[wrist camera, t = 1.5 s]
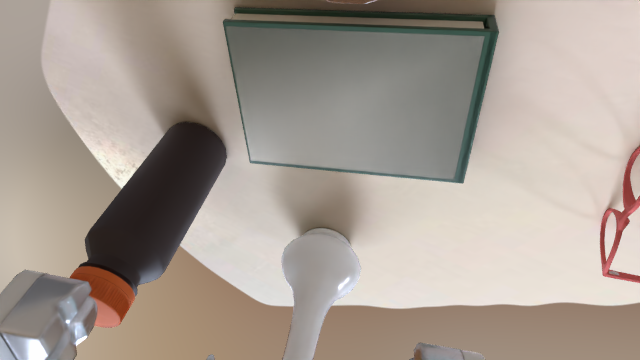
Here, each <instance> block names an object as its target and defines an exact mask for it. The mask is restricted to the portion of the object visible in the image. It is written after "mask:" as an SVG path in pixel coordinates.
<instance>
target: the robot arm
mask: <svg viewBox="0 0 640 360" xmlns="http://www.w3.org/2000/svg"><path fill="white" fill-rule="evenodd" d="M91 290H92V289H91V287H90V284H89V282H88V281H82V280H77V279H71V278H66V277H61V276H55V275H50V274H47V273H41V272H35V271H29V270H24V271H22V272H21V273H19V274H17V275H16V276H15V277H14V278H13V280H12V281H11V282H10V283H9V284H8V286H7V287H6V288H5V289H4V290H3V291H2V292H1V294H0V360H74V359H75V357H76V355H77V350H76V345H77V344H78V343H80V342H82V341H83V340H85V339H86V338H87V337H88V336H89V334H90V332H91V331H92V329H93V327H94V324H95V321H96V318H97V311H98V307H97V304H96V301H95V300H94V299H93V298H92V297H90V296H89V294H90V292H91ZM410 360H485V358H484V357H483V355H482V354H480V353H475V352H470V351H464V350H459V349H455V348H449V347H443V346H437V345H431V344H425V343H418V344H417V345H416V347H415V349H414V358H411V359H410Z"/></svg>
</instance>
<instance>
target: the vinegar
mask: <svg viewBox="0 0 640 360" xmlns="http://www.w3.org/2000/svg"><path fill="white" fill-rule="evenodd" d="M226 158H227V155H226V149H225V147H224V145H223V143H222V141H221V140H220V139H219V138H218V137H217V135H216V134H215V133H213V132H212V131H211V130H209V129H208V128H206V127H204V126H201V125H199V124H196V123H189V122H184V123H178V124H176V125H174V126H173V127H171V128H170V129H169V130H168V131H167V133H166V134H165V135H164V136H163V138H162V139H161V140H160V141H159V143H158V144H157V145H156V146H155V148H154V149H153V150H152V152H151V153H150V154H149V155H148V157H147V158H146V159H145V160H144V162H143V163H142V164H141V166H140V167H139V168H138V169H137V171H136V172H135V173H134V174H133V176H132V177H131V178H130V180H129V181H128V182H127V183H126V185H125V186H124V187H123V188H122V190H121V191H120V192H119V194H118V195H117V196H116V197H115V199H114V200H113V201H112V202H111V204H110V205H109V206H108V208H107V209H106V210H105V211H104V213H103V214H102V215H101V216H100V218H99V219H98V220H97V222H96V223H95V224H94V226H93V227H92V228H91V229H90V231H89V232H88V234H87V236H86V238H85V246H86V252H87V255H88V259H89V260H88V261H87V262H84V263H82V264H80V266H79V267H78V268H77V269H76V270H75V271H74V272H73V274H72V275H71V276H70V278H71V279H77V280H82V281H88V282H89V284H90V287H91V289H92V290H91V292H90V294H89V296H90V297H92V298H93V299H94V300H95V301H96V304H97V307H98V311H97V318H96V321H95V324H94V326H99V327H105V328H107V327H108V328H109V327H110V328H111V327H115V326H118V325H119V324H120V323H121V322H122V320H123V318H124V317H125V315H126V313H127V311H128V310H129V308H130V306H131V305H132V303H133V301H134V299H135V296H136V295H137V286H138V285H140V284H144V283H148V282H151V281H153V280H156V279H158V278H159V277H160V276H161V275H162V274H163V273H164V271H165V270H166V268H167V266H168V265H169V263H170V261H171V259H172V257H173V256H174V254H175V252H176V250H177V248H178V247H179V245H180V243H181V241H182V240H183V238H184V236H185V234H186V233H187V231H188V229H189V227H190V226H191V224H192V222H193V220H194V218H195V217H196V215H197V213H198V211H199V210H200V208H201V206H202V204H203V203H204V201H205V199H206V197H207V195H208V194H209V192H210V190H211V188H212V187H213V185H214V183H215V181H216V179H217V178H218V176H219V174H220V172H221V171H222V169H223V167H224V165H225V162H226Z"/></svg>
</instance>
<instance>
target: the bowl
mask: <svg viewBox="0 0 640 360" xmlns="http://www.w3.org/2000/svg"><path fill="white" fill-rule="evenodd" d="M325 1H328V2H331V3H332V2H333V3H347V4H364V3H365V4H366V3H370V2H373V1H376V0H325Z"/></svg>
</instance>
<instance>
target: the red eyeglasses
mask: <svg viewBox="0 0 640 360" xmlns="http://www.w3.org/2000/svg"><path fill="white" fill-rule="evenodd" d="M639 154H640V147H638V148H637V149H636V150H635V151H634V153H633V154H632V156H631V157H630V159H629V162H628V164H627V167H626V170H625V175H624V181H623V204H624V208H625V209H624V211H623V212H622V213H621V212H620V211H618V210H615V209H612V208H609V209H608V210H607V211H606V212H605V214H604V216H603V219H602V223H601V231H600V252H601V262H602V273H603V276H605V277H610V278H615V279H621V280H626V281H632V282H637V283H640V276H636V275H631V274H627V273H622V272H617V271H613V270H609V268H610V265H611V263H612V261H613V258H614V256H615V253H616V251H617V248H618V245H619V242H620V239H621V235H622V232H623V230H624V229H625V227H626V226H627V225H628V224H629V222H630V221H629V219H628V218H627V217H628V216H629V215H630V214H632V213H633V212H634V211H635V210H637V208H638V207H639V206H640V196H639V197H638V199H637V200H635V198H634V195H633V192H632V188H631V181H630V173H631V168H632V165H633V163H634V161H635V159H636V157H637V156H638V155H639ZM611 212H613V213H614V214H615V216H616V222H617V229H616V236H615V240H614V244H613V247H612V249H611V252H610V255H609V257H608V259H607V262H606V257H605V245H604V237H605V226H606V222H607V218H608V216H609V214H610V213H611Z"/></svg>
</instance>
